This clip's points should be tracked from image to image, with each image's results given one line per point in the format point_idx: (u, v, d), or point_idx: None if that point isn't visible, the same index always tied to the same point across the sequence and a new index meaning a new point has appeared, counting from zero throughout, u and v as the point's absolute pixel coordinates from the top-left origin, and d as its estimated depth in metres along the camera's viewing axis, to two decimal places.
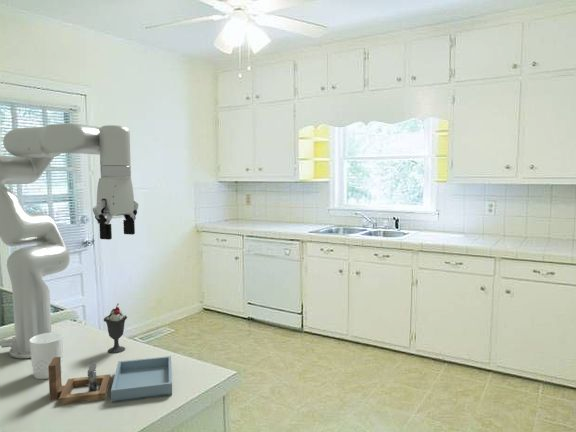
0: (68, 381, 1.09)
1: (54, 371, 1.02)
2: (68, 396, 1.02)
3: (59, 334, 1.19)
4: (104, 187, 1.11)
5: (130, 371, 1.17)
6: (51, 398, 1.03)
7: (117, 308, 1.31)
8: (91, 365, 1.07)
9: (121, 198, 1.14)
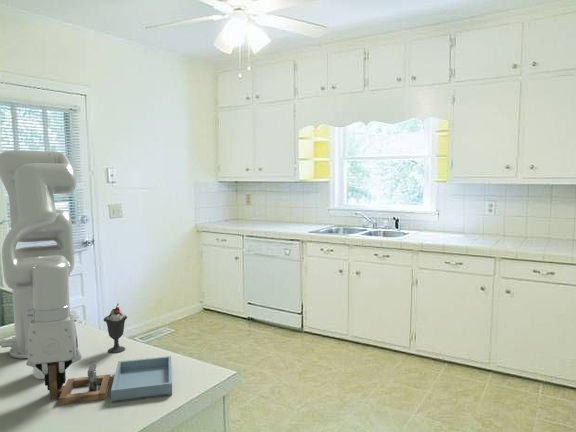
0: (68, 381, 1.09)
1: (54, 371, 1.02)
2: (68, 396, 1.02)
3: None
4: (74, 326, 1.05)
5: (130, 371, 1.17)
6: (51, 398, 1.03)
7: (117, 308, 1.31)
8: (91, 365, 1.07)
9: None
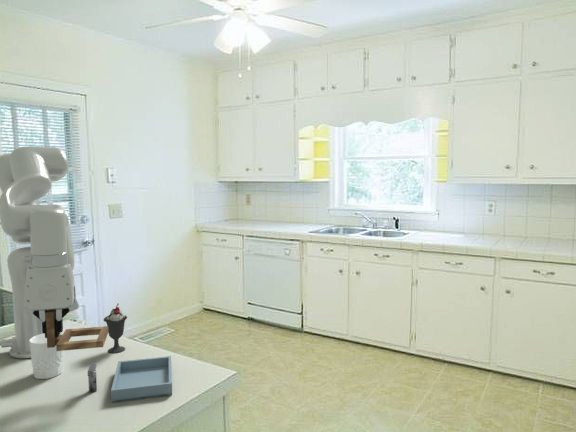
0: (66, 331, 1.08)
1: (52, 318, 1.01)
2: (66, 343, 1.01)
3: None
4: (72, 274, 1.04)
5: (130, 371, 1.17)
6: (48, 345, 1.02)
7: (117, 308, 1.31)
8: (91, 365, 1.07)
9: None
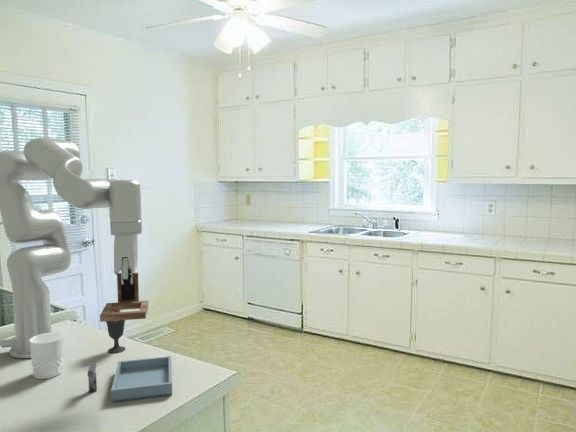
0: (141, 301, 1.12)
1: (117, 280, 1.11)
2: (107, 305, 1.08)
3: (59, 334, 1.19)
4: (124, 245, 1.07)
5: (130, 371, 1.17)
6: None
7: None
8: (91, 365, 1.07)
9: (136, 254, 1.11)
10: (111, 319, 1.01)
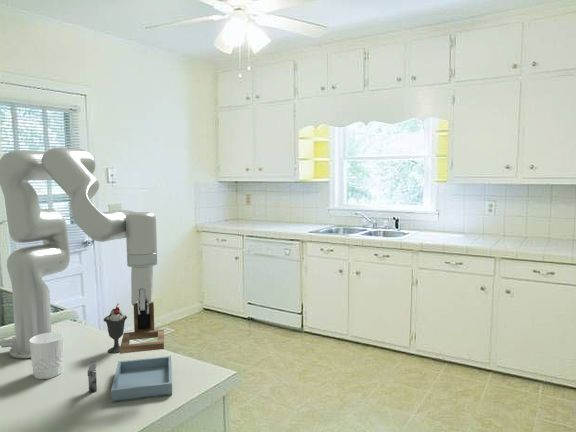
0: (157, 330, 1.14)
1: None
2: (125, 335, 1.11)
3: (59, 334, 1.19)
4: (142, 277, 1.10)
5: (130, 371, 1.17)
6: None
7: (117, 308, 1.31)
8: (91, 365, 1.07)
9: (152, 284, 1.14)
10: (131, 351, 1.04)
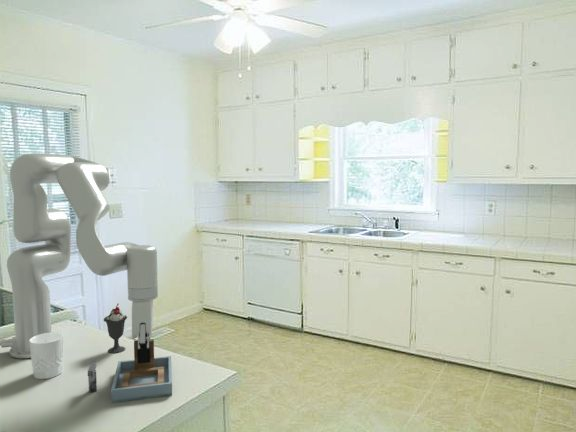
0: (157, 367, 1.16)
1: (134, 347, 1.15)
2: (125, 374, 1.12)
3: (59, 334, 1.19)
4: (142, 311, 1.10)
5: None
6: None
7: (117, 308, 1.31)
8: (91, 365, 1.07)
9: None
10: None
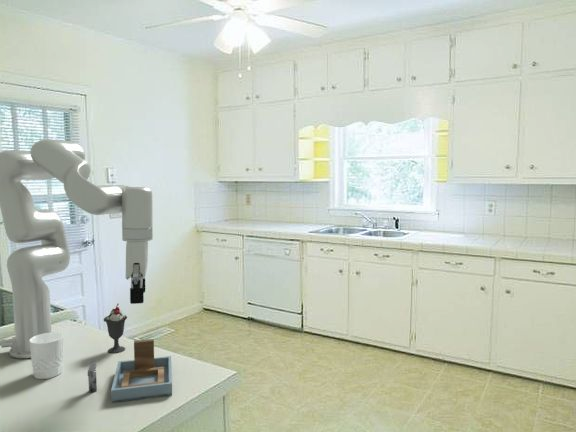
0: (157, 367, 1.16)
1: (134, 347, 1.15)
2: (125, 374, 1.12)
3: (59, 334, 1.19)
4: (136, 251, 1.09)
5: None
6: None
7: (117, 308, 1.31)
8: (91, 365, 1.07)
9: (147, 259, 1.14)
10: None
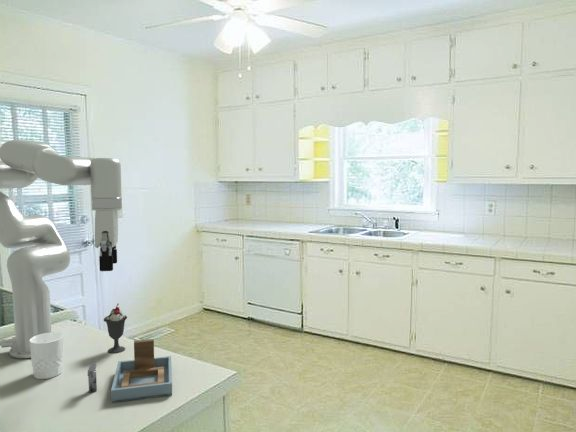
0: (157, 367, 1.16)
1: (134, 347, 1.15)
2: (125, 374, 1.12)
3: (59, 334, 1.19)
4: (105, 219, 1.12)
5: None
6: None
7: (117, 308, 1.31)
8: (91, 365, 1.07)
9: (116, 229, 1.16)
10: None
